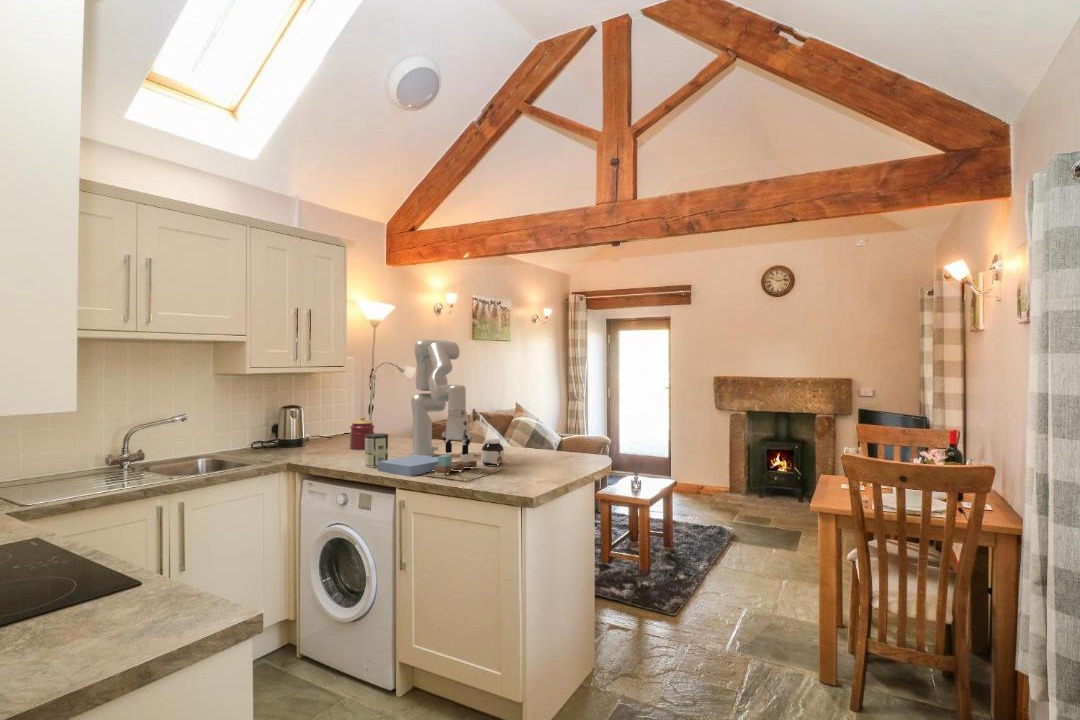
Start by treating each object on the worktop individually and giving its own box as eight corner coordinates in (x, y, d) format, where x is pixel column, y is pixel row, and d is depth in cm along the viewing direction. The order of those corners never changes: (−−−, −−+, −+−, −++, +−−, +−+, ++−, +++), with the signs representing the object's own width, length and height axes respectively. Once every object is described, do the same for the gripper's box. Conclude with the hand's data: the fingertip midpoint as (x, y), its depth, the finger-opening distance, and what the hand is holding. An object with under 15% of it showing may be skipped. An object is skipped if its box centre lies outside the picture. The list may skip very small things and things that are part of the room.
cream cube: (466, 460, 252) (466, 451, 253) (473, 460, 250) (473, 451, 250) (460, 461, 249) (460, 452, 249) (467, 462, 247) (467, 452, 247)
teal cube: (444, 464, 241) (444, 454, 241) (451, 465, 239) (451, 455, 239) (438, 465, 238) (438, 456, 238) (445, 466, 235) (445, 456, 235)
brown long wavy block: (466, 467, 254) (466, 459, 254) (476, 468, 250) (476, 460, 250) (434, 473, 237) (434, 465, 237) (444, 475, 234) (445, 467, 234)
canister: (345, 449, 306) (345, 416, 306) (356, 446, 318) (357, 414, 319) (367, 450, 303) (368, 417, 304) (378, 446, 316) (378, 415, 316)
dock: (419, 463, 262) (419, 454, 263) (450, 467, 251) (450, 459, 251) (378, 470, 243) (378, 461, 243) (410, 476, 231) (410, 466, 231)
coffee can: (375, 463, 262) (375, 432, 263) (392, 464, 258) (393, 434, 258) (359, 466, 253) (359, 435, 253) (377, 468, 249) (377, 436, 249)
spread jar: (488, 467, 254) (488, 441, 254) (474, 463, 263) (474, 438, 263) (509, 464, 262) (509, 439, 262) (494, 461, 270) (495, 437, 271)
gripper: (477, 414, 242) (477, 453, 242) (448, 412, 252) (448, 451, 251) (466, 414, 236) (466, 455, 236) (436, 413, 246) (436, 453, 245)
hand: (456, 453), depth 243 cm, fingers open, 9 cm apart
